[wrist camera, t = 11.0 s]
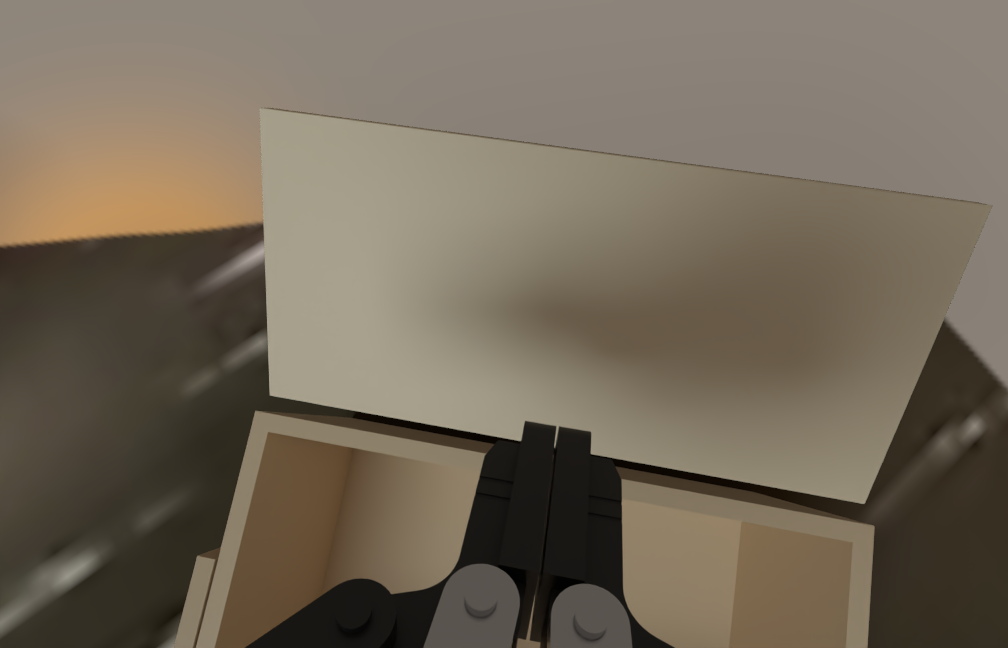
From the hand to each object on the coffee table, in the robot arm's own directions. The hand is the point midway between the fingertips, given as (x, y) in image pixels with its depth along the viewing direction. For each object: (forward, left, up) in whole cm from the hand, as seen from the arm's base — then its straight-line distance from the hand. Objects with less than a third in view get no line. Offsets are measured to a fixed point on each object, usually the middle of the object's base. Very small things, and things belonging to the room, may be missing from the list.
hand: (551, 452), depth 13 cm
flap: (-1, +4, -3) cm, 5 cm away
